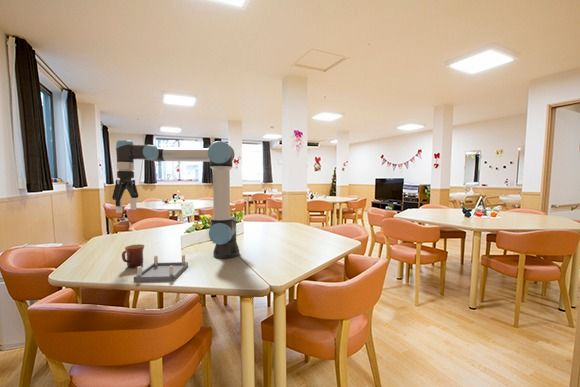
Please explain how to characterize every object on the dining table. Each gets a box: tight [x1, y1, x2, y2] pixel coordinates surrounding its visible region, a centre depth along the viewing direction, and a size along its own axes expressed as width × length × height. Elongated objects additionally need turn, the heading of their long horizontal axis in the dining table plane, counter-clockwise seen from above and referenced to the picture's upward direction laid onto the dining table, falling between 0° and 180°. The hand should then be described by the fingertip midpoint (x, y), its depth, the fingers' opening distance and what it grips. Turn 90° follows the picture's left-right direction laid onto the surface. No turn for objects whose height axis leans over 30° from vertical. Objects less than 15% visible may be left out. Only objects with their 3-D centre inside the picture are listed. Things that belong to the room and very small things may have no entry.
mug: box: [121, 243, 145, 269], centre depth 133 cm, size 12×9×10 cm
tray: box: [133, 254, 189, 283], centre depth 125 cm, size 17×20×6 cm
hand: (126, 211), depth 137 cm, fingers open, 13 cm apart
